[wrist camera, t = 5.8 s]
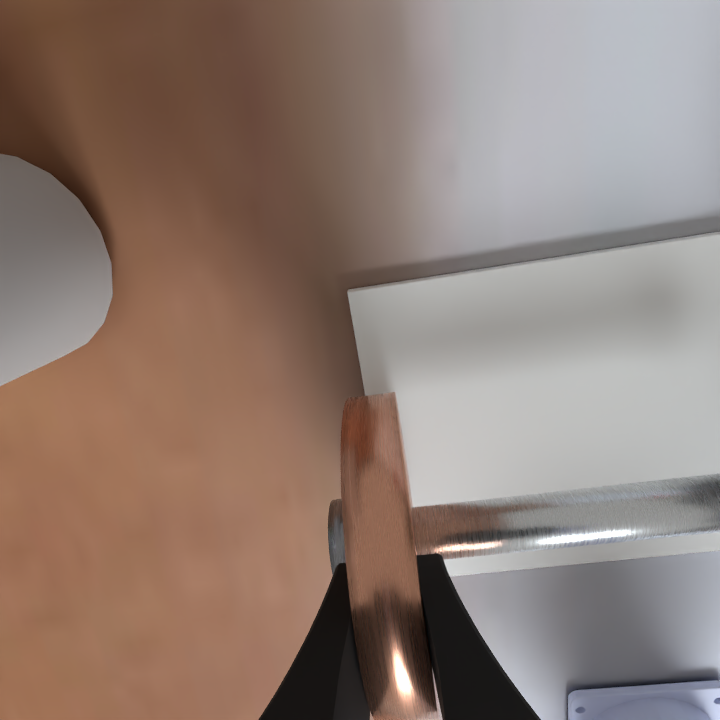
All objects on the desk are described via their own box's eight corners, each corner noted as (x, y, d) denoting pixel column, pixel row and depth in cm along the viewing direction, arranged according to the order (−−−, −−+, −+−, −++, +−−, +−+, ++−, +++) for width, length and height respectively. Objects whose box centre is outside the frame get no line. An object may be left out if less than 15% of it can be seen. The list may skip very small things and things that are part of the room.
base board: (987, 513, 19) (1006, 523, 18) (396, 571, 21) (397, 581, 21) (1117, 169, 14) (1147, 167, 14) (348, 289, 17) (347, 292, 16)
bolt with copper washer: (726, 511, 18) (1033, 778, 10) (363, 548, 19) (353, 812, 11) (754, 302, 15) (1230, 420, 7) (325, 363, 17) (273, 526, 8)
